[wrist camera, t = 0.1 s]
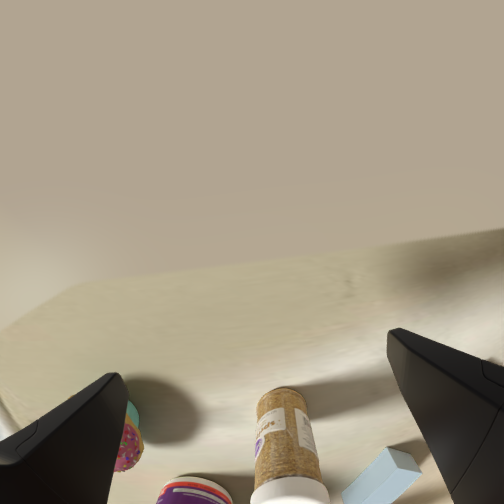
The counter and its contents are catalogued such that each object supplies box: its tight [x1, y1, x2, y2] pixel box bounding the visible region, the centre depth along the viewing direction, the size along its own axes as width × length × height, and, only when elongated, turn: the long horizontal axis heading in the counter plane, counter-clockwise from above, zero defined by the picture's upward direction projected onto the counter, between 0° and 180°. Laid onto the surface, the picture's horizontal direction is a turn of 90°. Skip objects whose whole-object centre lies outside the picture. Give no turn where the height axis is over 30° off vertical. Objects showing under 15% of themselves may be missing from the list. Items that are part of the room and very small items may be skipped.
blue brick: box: [341, 447, 422, 504], centre depth 23 cm, size 8×4×4 cm, turn 151°
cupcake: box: [68, 395, 144, 472], centre depth 20 cm, size 9×8×12 cm
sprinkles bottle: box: [250, 388, 330, 504], centre depth 18 cm, size 5×5×14 cm
